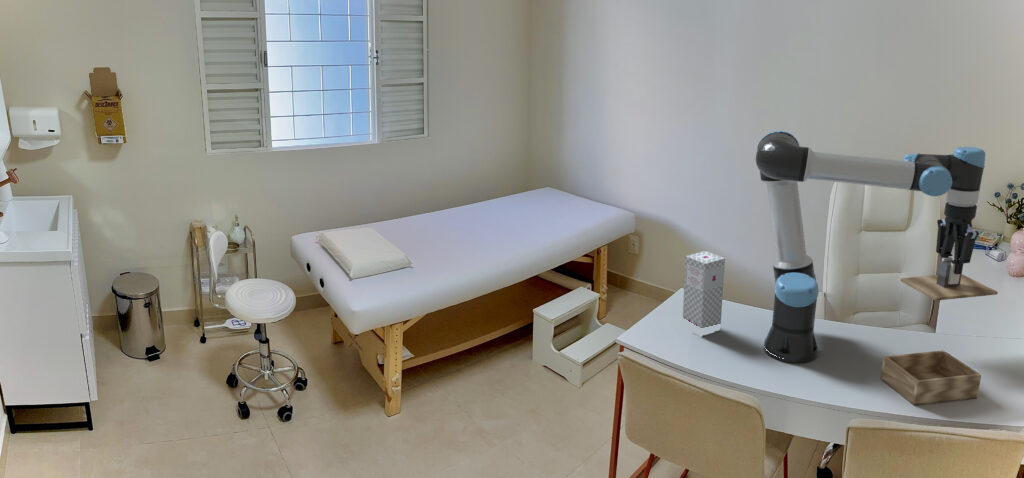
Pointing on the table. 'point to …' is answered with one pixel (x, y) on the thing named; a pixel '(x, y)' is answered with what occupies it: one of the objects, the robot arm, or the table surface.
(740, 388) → the table surface
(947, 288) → the lid
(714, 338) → the table surface
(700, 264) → the box
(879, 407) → the table surface
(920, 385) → the wooden box
